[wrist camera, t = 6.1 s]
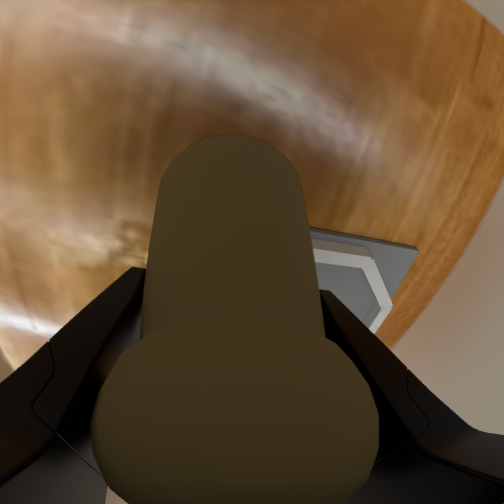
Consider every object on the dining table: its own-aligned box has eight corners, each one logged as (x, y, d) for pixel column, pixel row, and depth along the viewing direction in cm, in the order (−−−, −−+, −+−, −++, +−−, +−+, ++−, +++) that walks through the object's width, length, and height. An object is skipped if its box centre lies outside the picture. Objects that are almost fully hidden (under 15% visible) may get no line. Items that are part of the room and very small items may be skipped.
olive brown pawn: (330, 175, 12) (488, 453, 3) (261, 280, 15) (291, 524, 6) (190, 109, 10) (-3, 457, 1) (140, 237, 13) (66, 501, 4)
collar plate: (340, 365, 30) (344, 378, 29) (190, 358, 28) (189, 372, 26) (416, 247, 21) (426, 260, 20) (209, 211, 19) (207, 226, 17)
